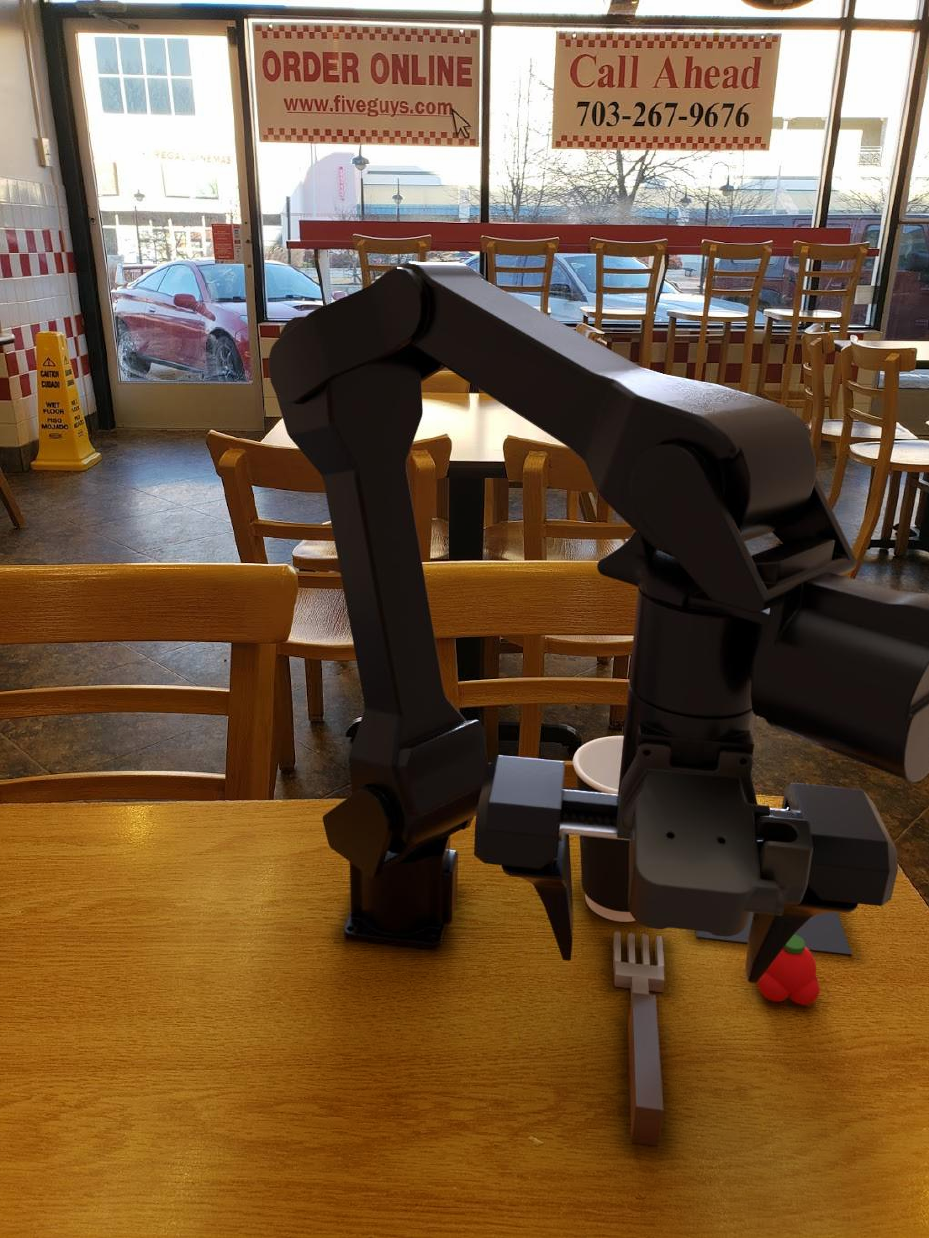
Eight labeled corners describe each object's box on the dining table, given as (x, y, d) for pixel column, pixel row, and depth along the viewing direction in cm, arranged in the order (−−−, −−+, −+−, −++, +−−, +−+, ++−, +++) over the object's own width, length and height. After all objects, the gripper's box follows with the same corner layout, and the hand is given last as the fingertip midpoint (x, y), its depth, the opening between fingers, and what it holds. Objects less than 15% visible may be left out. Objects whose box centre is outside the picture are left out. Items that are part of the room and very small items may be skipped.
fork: (675, 1149, 48) (681, 1112, 47) (614, 1140, 48) (618, 1104, 47) (660, 948, 62) (664, 917, 61) (613, 943, 62) (616, 912, 61)
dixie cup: (699, 920, 65) (719, 781, 60) (599, 949, 62) (613, 805, 58) (635, 855, 71) (649, 727, 67) (543, 879, 68) (552, 746, 64)
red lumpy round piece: (758, 1006, 57) (767, 956, 56) (750, 967, 60) (758, 919, 59) (819, 1014, 57) (829, 963, 55) (808, 974, 60) (817, 926, 59)
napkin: (696, 937, 63) (696, 936, 63) (685, 850, 72) (685, 849, 72) (851, 955, 62) (852, 954, 62) (820, 864, 71) (820, 863, 71)
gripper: (461, 759, 36) (452, 1068, 41) (978, 808, 33) (894, 1128, 39) (493, 646, 46) (483, 906, 52) (891, 677, 44) (834, 946, 49)
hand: (657, 966), depth 48 cm, fingers open, 9 cm apart
